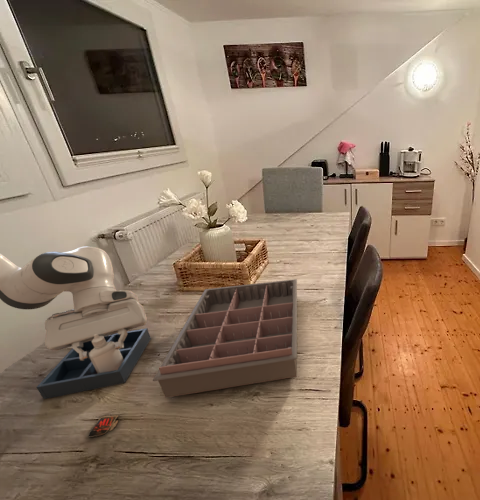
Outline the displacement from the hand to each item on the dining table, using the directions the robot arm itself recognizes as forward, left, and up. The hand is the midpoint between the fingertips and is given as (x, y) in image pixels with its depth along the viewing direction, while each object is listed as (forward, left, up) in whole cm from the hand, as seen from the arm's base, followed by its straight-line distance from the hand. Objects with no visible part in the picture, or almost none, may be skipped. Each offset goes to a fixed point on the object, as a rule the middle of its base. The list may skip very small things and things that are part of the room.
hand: (102, 354), depth 72 cm
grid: (-4, +5, -7) cm, 10 cm away
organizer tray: (+34, +5, -7) cm, 35 cm away
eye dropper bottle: (0, +1, -7) cm, 7 cm away
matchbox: (+6, -16, -7) cm, 19 cm away
